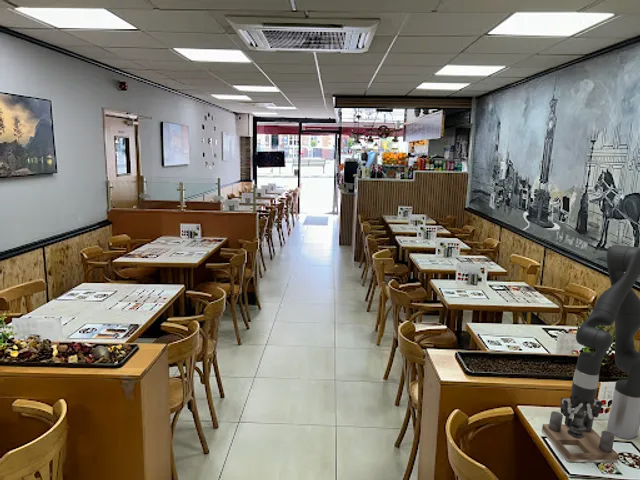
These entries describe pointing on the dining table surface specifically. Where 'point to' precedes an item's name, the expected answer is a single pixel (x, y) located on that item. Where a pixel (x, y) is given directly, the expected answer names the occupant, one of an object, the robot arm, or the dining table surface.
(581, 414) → the grey chess piece
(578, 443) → the wooden peg stand
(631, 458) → the dining table surface
